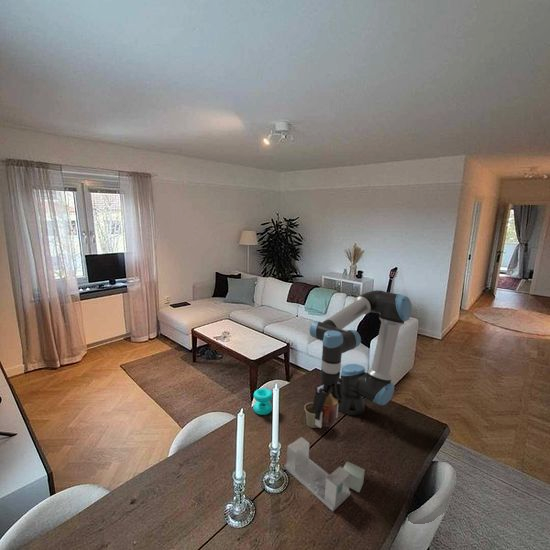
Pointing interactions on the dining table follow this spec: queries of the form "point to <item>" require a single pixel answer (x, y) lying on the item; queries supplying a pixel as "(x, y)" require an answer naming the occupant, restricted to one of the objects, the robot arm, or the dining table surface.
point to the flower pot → (310, 415)
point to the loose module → (355, 476)
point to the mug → (329, 411)
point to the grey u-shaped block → (317, 475)
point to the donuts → (263, 401)
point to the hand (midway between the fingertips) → (326, 420)
